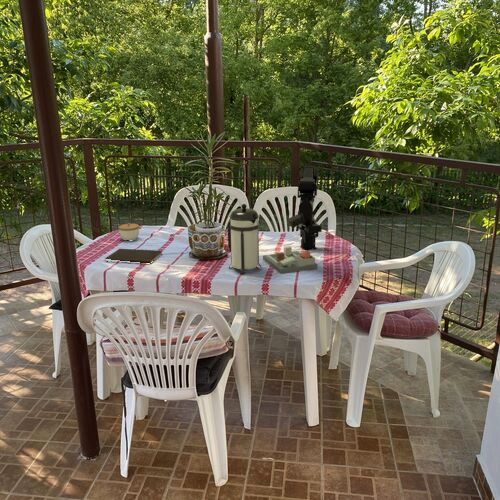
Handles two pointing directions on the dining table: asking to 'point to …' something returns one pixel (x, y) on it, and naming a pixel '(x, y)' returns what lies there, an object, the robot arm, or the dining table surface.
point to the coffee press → (244, 239)
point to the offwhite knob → (287, 250)
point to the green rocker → (287, 260)
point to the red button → (305, 254)
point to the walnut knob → (279, 256)
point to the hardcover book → (135, 255)
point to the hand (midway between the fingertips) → (305, 243)
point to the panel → (293, 266)
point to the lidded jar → (129, 231)
